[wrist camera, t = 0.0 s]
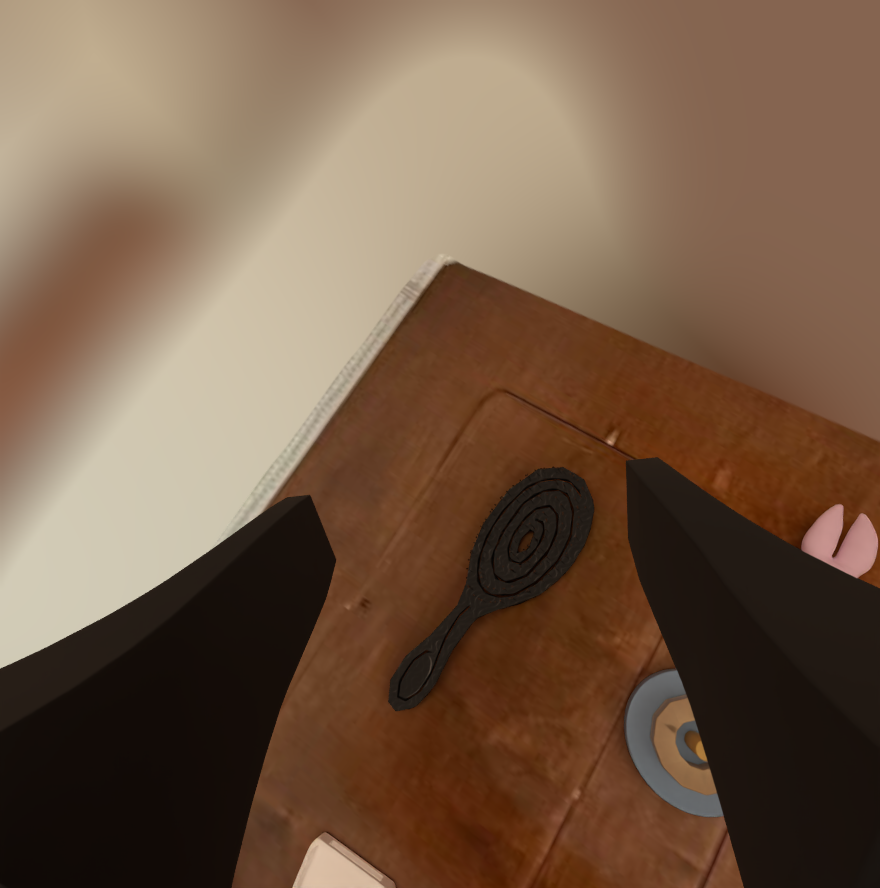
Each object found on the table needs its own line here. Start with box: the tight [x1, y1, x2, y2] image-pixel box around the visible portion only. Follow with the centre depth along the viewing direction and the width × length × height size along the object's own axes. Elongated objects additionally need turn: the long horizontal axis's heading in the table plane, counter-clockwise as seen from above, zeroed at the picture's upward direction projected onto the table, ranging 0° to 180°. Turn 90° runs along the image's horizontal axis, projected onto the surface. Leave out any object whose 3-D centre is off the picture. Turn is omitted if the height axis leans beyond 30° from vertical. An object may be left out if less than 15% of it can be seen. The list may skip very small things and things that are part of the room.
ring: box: [650, 695, 717, 795], centre depth 32 cm, size 6×6×1 cm
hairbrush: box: [388, 467, 594, 711], centre depth 39 cm, size 8×4×25 cm
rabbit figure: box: [801, 505, 878, 578], centre depth 32 cm, size 6×6×15 cm
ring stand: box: [624, 669, 724, 817], centre depth 32 cm, size 9×9×4 cm
